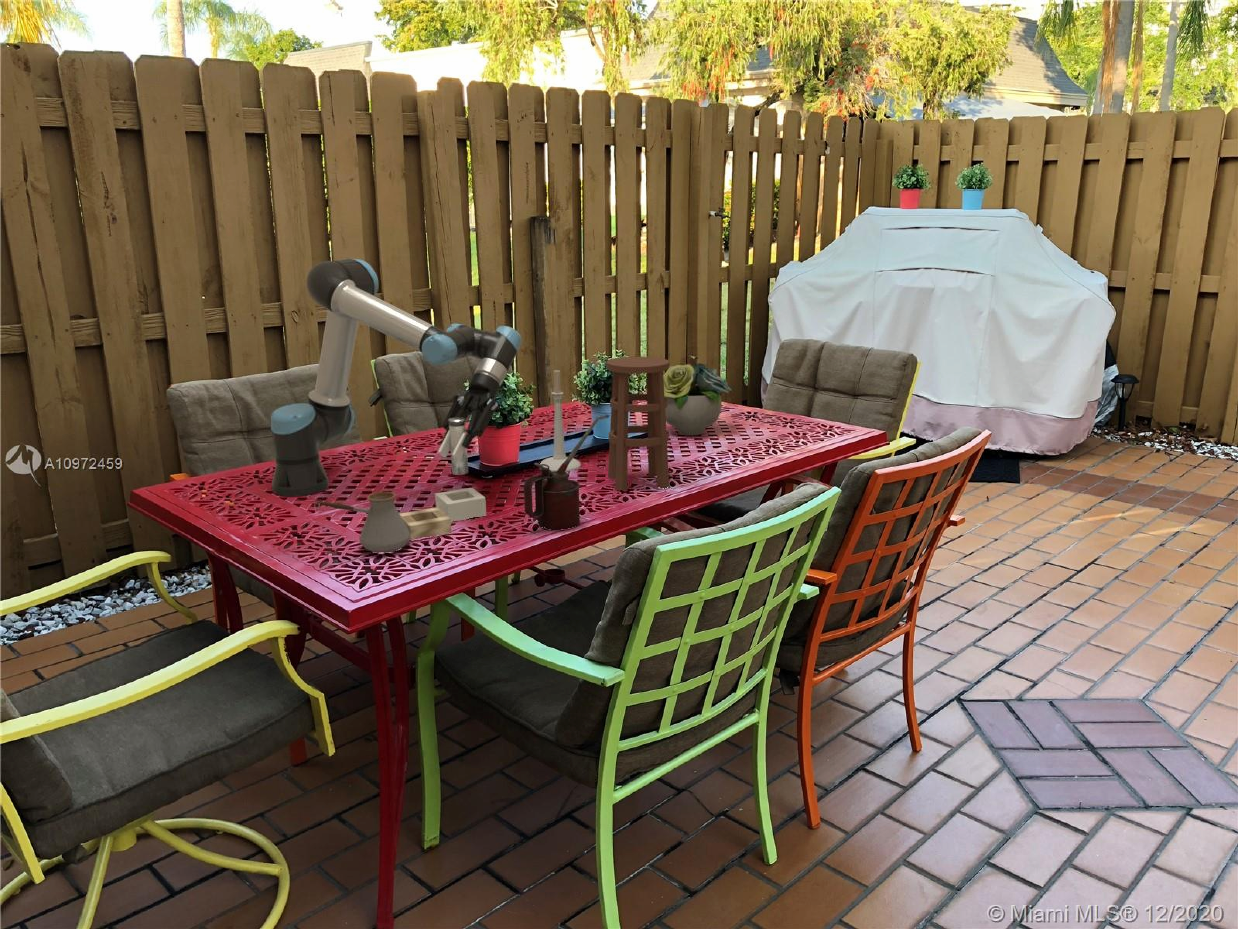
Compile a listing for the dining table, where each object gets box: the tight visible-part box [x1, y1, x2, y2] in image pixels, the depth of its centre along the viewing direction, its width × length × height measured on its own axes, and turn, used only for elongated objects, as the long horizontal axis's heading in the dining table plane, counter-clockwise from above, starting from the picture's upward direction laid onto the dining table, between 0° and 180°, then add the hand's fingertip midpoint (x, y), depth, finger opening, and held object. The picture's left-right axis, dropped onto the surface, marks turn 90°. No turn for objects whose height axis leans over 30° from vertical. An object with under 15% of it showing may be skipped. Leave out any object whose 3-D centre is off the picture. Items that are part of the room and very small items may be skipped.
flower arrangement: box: [663, 362, 733, 436], centre depth 304 cm, size 25×25×24 cm
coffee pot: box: [313, 491, 410, 552], centre depth 200 cm, size 21×12×15 cm, turn 131°
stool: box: [605, 356, 670, 491], centre depth 247 cm, size 20×35×20 cm
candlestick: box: [539, 369, 582, 473], centre depth 265 cm, size 13×13×30 cm
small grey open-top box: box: [434, 487, 487, 522], centre depth 227 cm, size 10×10×5 cm
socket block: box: [399, 506, 452, 541], centre depth 215 cm, size 10×10×4 cm
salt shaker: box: [449, 417, 469, 476], centre depth 222 cm, size 4×4×14 cm
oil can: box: [523, 414, 611, 531], centre depth 220 cm, size 28×11×25 cm, turn 136°
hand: (448, 456), depth 220 cm, fingers closed on salt shaker, 4 cm apart
